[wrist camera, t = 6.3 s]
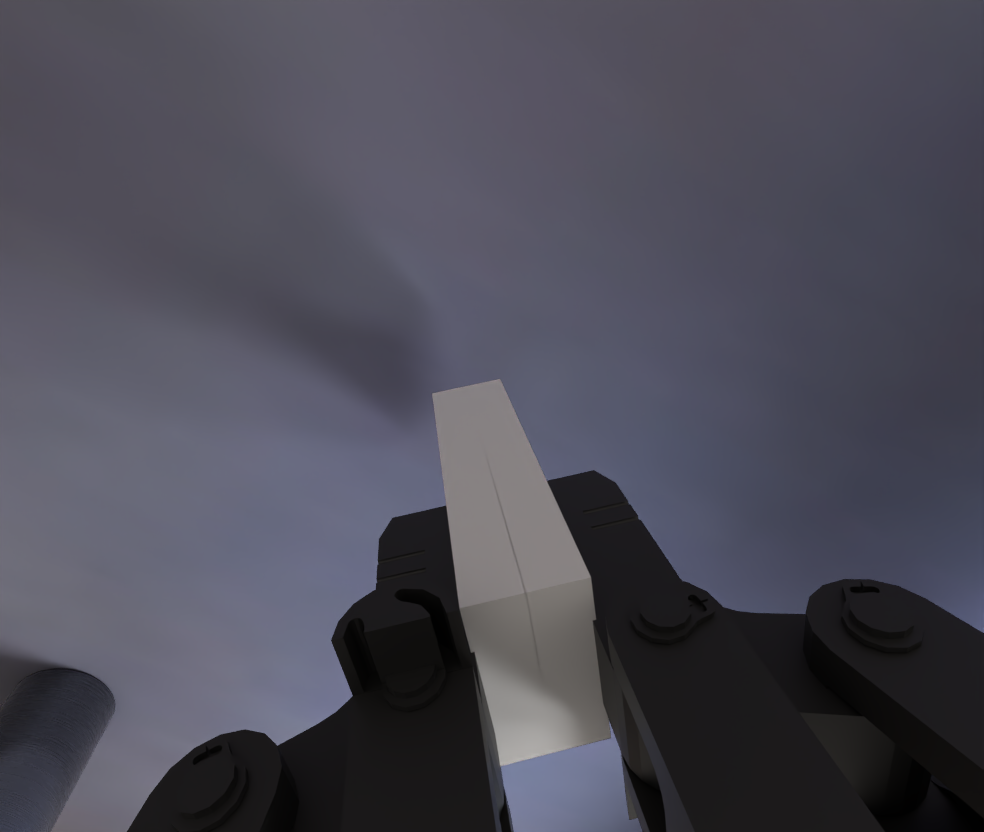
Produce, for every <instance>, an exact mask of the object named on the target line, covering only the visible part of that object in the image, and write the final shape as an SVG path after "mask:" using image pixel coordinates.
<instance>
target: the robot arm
mask: <svg viewBox="0 0 984 832" xmlns="http://www.w3.org/2000/svg"><path fill="white" fill-rule="evenodd" d="M432 397H433V405H434V413H435V420H436V428H437V436H438V444H439V452H440V460H441V467H442V475H443V483H444V491H445V499H446V506H443V507H439V508H434V509H430V510H425V511H421V512H417V513H412V514H408V515H403V516H399V517H394V518H392V520H391V521H390V523H389V524H388V526H387V527H386V529H385V531H384V532H383V534H382V535H381V537H380V538H379V550H378V564H379V565H378V566H377V583H376V590H374V591H372V592H371V593H369V594H368V595H366V596H365V597H363V598H362V599H360V600H359V601H357V602H356V603H354V604H353V605H352V606H351V608H350V609H349V610H348V611H347V612H346V613H345V614H344V616H343V617H342V618H341V619H340V620H339V622H338V624H337V627H336V629H335V632H334V634H333V637H332V640H331V641H332V644H333V646H334V649H335V651H336V654H337V657H338V659H339V662H340V664H341V667H342V669H343V672H344V674H345V677H346V679H347V682H348V684H349V687H350V690H351V692H352V695H353V696H352V697H351V699H350V700H349V701H348V702H346V703H345V704H344V705H343V706H342V707H341V708H340V709H339V710H338V711H337V712H335V713H334V714H332V715H331V716H329V717H328V718H326V719H325V720H323V721H322V722H320V723H319V724H317V725H315V726H313V727H311V728H310V729H308V730H306V731H304V732H302V733H300V734H298V735H297V736H295V737H293V738H291V739H289V740H287V741H286V742H284V743H282V744H280V745H278V746H277V745H276V744H275V743H274V742H273V741H272V740H271V739H270V738H269V737H268V736H267V735H266V734H265V733H260V732H255V731H250V730H240V731H236V732H231V733H226V734H221V735H219V736H217V737H215V738H213V739H211V740H209V741H207V742H205V743H204V744H202V745H200V746H198V747H196V748H194V749H193V750H192V751H191V752H189V753H188V754H187V755H186V756H185V757H183V758H182V759H181V760H180V761H179V762H177V763H176V764H175V765H174V766H173V767H172V768H170V769H169V771H168V772H167V773H166V775H165V776H164V777H163V778H162V780H161V781H160V782H159V783H158V785H157V786H156V787H155V789H154V790H153V791H152V792H151V794H150V795H149V797H148V798H147V800H146V802H145V803H144V805H143V807H142V808H141V810H140V811H139V813H138V815H137V816H136V818H135V820H134V821H133V823H132V825H131V826H130V828H129V829H128V831H127V832H514V831H513V825H512V819H511V814H510V809H509V805H508V802H507V798H506V794H505V790H504V786H503V779H502V773H501V767H500V766H503V765H507V764H511V763H515V762H519V761H523V760H527V759H531V758H535V757H539V756H543V755H546V754H550V753H554V752H558V751H562V750H566V749H570V748H574V747H578V746H582V745H586V744H590V743H593V742H597V741H601V740H605V739H609V738H611V735H610V727H609V721H610V723H611V726H612V729H613V731H614V734H615V737H616V739H617V742H618V745H619V747H620V750H621V757H622V766H623V775H624V783H625V792H626V801H627V807H628V814H629V820H631V819H635V818H638V819H639V822H640V825H641V828H642V831H643V832H984V633H982V632H980V631H979V630H977V629H975V628H974V627H972V626H970V625H969V624H967V623H965V622H964V621H962V620H960V619H959V618H957V617H955V616H954V615H952V614H950V613H949V612H947V611H945V610H944V609H942V608H940V607H939V606H937V605H935V604H934V603H932V602H930V601H929V600H927V599H925V598H923V597H921V596H919V595H916V594H914V593H912V592H910V591H908V590H906V589H903V588H901V587H899V586H896V585H891V584H887V583H883V582H878V581H874V580H863V579H843V580H840V581H836V582H833V583H829V584H826V585H823V586H822V587H820V588H819V589H818V590H817V591H816V592H815V593H813V594H812V595H811V596H810V597H809V601H808V605H807V610H806V614H770V613H750V612H741V611H735V610H731V609H728V608H724V607H722V605H721V604H719V603H718V602H717V601H716V600H715V599H714V598H713V597H712V596H711V595H710V594H709V593H708V592H707V591H705V590H703V589H700V588H698V587H696V586H694V585H692V584H690V583H688V582H684V581H682V580H681V579H680V578H679V576H678V575H677V573H676V572H675V570H674V569H673V567H672V566H671V564H670V563H669V561H668V560H667V558H666V557H665V555H664V554H663V552H662V551H661V549H660V548H659V546H658V545H657V543H656V542H655V541H654V539H653V538H652V536H651V535H650V533H649V532H648V530H647V529H646V527H645V526H644V524H643V523H642V521H641V520H639V519H638V515H637V514H636V512H635V511H634V509H633V508H632V506H631V505H630V504H628V500H627V499H626V497H625V496H624V494H623V493H622V492H621V490H620V489H619V487H618V486H617V484H616V483H615V482H613V481H612V480H610V479H608V478H606V477H605V476H603V475H601V474H599V473H598V472H596V471H594V470H593V471H589V472H584V473H580V474H575V475H571V476H567V477H562V478H558V479H553V480H549V481H547V480H546V478H545V476H544V474H543V472H542V469H541V467H540V465H539V463H538V461H537V458H536V456H535V454H534V452H533V450H532V448H531V445H530V443H529V441H528V439H527V437H526V434H525V432H524V430H523V428H522V426H521V424H520V421H519V419H518V417H517V415H516V413H515V410H514V408H513V406H512V404H511V402H510V399H509V397H508V395H507V393H506V391H505V389H504V386H503V384H502V382H501V380H500V379H497V380H492V381H488V382H483V383H478V384H473V385H469V386H464V387H459V388H455V389H450V390H445V391H441V392H436V393H432ZM608 718H609V719H608Z"/></svg>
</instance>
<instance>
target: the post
mask: <svg viewBox="0 0 984 832" xmlns="http://www.w3.org/2000/svg"><path fill="white" fill-rule="evenodd" d="M114 710H115V700H114V697H113V695H112V693H111V692H110V690H109V689H108V688H107V687H106V686H105V685H104V684H103V683H102V682H100V681H99V680H97V679H96V678H94V677H92V676H90V675H87V674H84V673H81V672H78V671H73V670H65V669H52V670H45V671H40V672H37V673H34V674H32V675H30V676H28V677H26V678H25V679H23V680H22V681H21V682H20V683H19V684H18V685H17V686H16V688H15V689H14V690H13V692H12V693H11V694H10V696H9V697H8V698H7V700H6V701H5V702H4V704H3V705H2V706H1V708H0V832H51V831H52V829H53V827H54V825H55V823H56V821H57V819H58V817H59V816H60V814H61V812H62V810H63V808H64V806H65V804H66V802H67V801H68V799H69V797H70V795H71V793H72V791H73V789H74V787H75V785H76V784H77V782H78V780H79V778H80V776H81V774H82V772H83V770H84V768H85V767H86V765H87V763H88V761H89V759H90V757H91V755H92V753H93V752H94V750H95V748H96V746H97V744H98V742H99V740H100V738H101V736H102V735H103V733H104V731H105V729H106V727H107V725H108V723H109V721H110V719H111V718H112V716H113V714H114Z"/></svg>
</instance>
